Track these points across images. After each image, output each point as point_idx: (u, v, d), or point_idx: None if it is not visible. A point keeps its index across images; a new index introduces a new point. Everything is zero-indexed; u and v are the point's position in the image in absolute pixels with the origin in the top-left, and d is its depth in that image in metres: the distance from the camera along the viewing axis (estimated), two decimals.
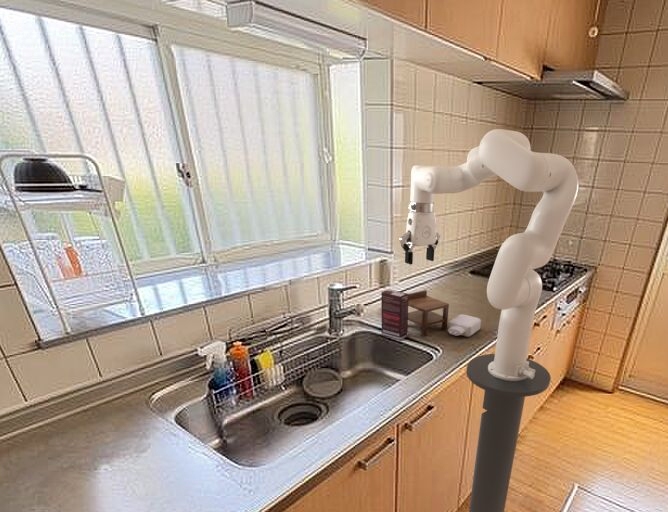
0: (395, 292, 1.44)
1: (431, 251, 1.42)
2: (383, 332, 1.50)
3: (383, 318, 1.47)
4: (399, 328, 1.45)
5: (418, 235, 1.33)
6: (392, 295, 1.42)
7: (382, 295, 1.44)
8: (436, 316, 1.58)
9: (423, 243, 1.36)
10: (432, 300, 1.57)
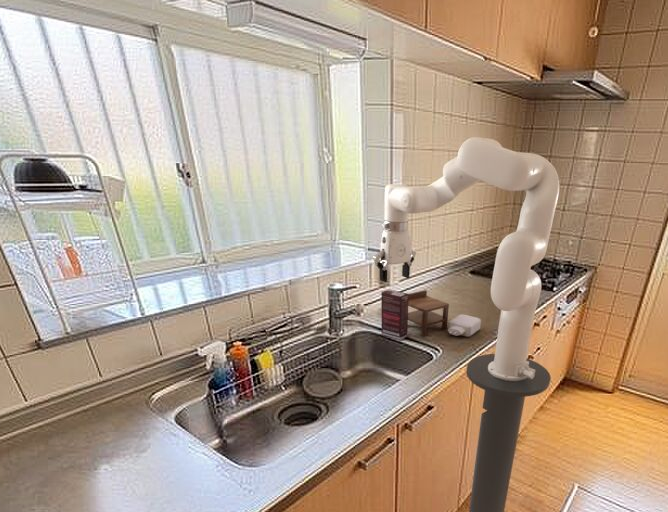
0: (395, 292, 1.44)
1: (406, 268, 1.42)
2: (383, 332, 1.50)
3: (383, 318, 1.47)
4: (399, 328, 1.45)
5: (392, 253, 1.33)
6: (392, 295, 1.42)
7: (382, 295, 1.44)
8: (436, 316, 1.58)
9: (397, 261, 1.36)
10: (432, 300, 1.57)
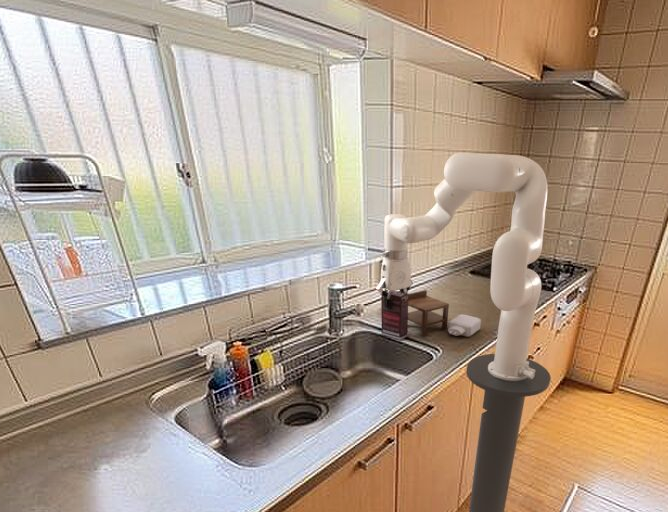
0: (395, 292, 1.44)
1: None
2: (383, 332, 1.50)
3: (383, 318, 1.47)
4: (398, 328, 1.45)
5: (392, 280, 1.37)
6: (392, 295, 1.42)
7: None
8: (436, 316, 1.58)
9: (397, 288, 1.40)
10: (432, 300, 1.57)
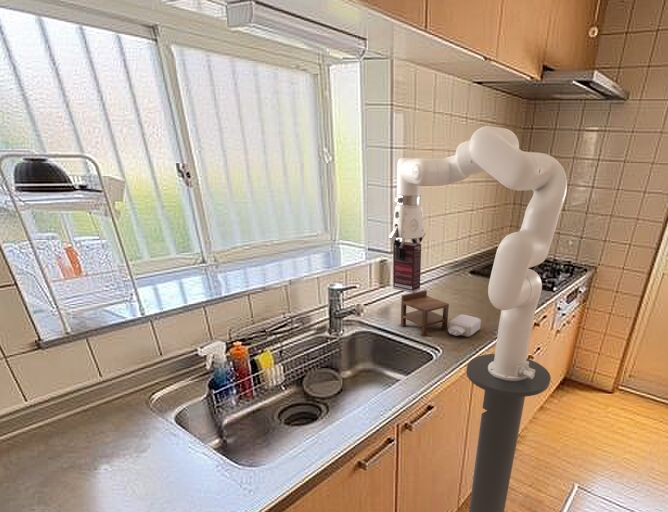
0: (407, 242, 1.39)
1: None
2: (395, 286, 1.45)
3: (395, 271, 1.43)
4: (411, 281, 1.41)
5: (405, 228, 1.33)
6: (404, 245, 1.37)
7: (394, 246, 1.39)
8: (436, 316, 1.58)
9: (410, 236, 1.35)
10: (432, 300, 1.57)
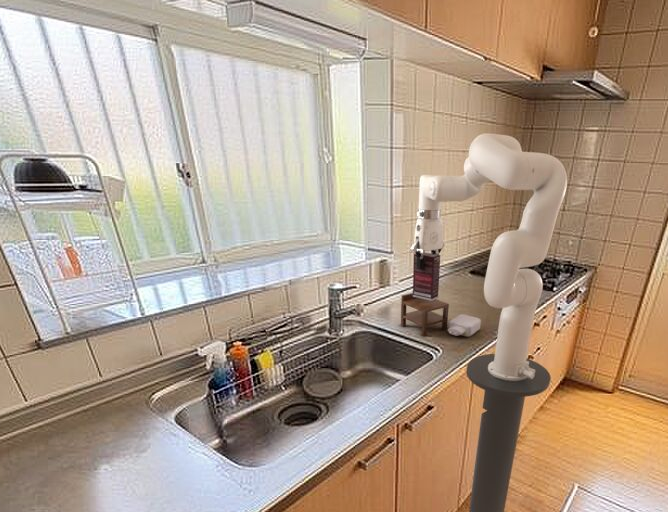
0: (427, 253, 1.47)
1: None
2: (414, 294, 1.53)
3: (415, 280, 1.51)
4: (430, 289, 1.49)
5: (425, 240, 1.40)
6: (425, 256, 1.45)
7: (414, 256, 1.47)
8: (436, 316, 1.58)
9: (430, 248, 1.43)
10: None
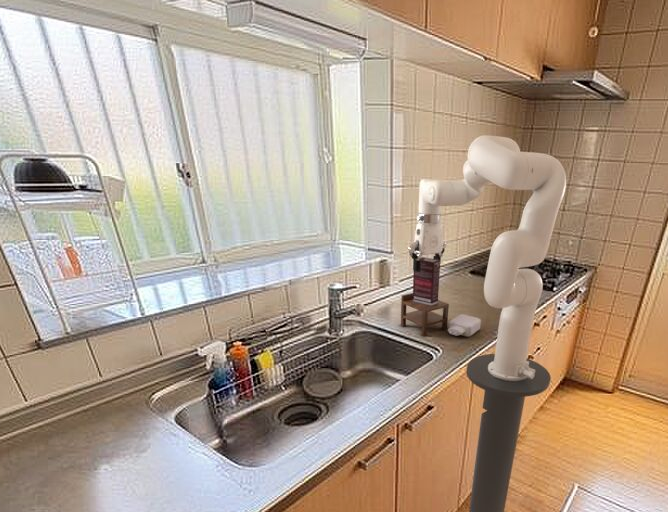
0: (427, 258, 1.48)
1: (438, 259, 1.50)
2: (414, 299, 1.54)
3: (415, 285, 1.51)
4: (430, 294, 1.49)
5: (425, 244, 1.41)
6: (425, 261, 1.46)
7: None
8: (436, 316, 1.58)
9: (430, 252, 1.44)
10: None
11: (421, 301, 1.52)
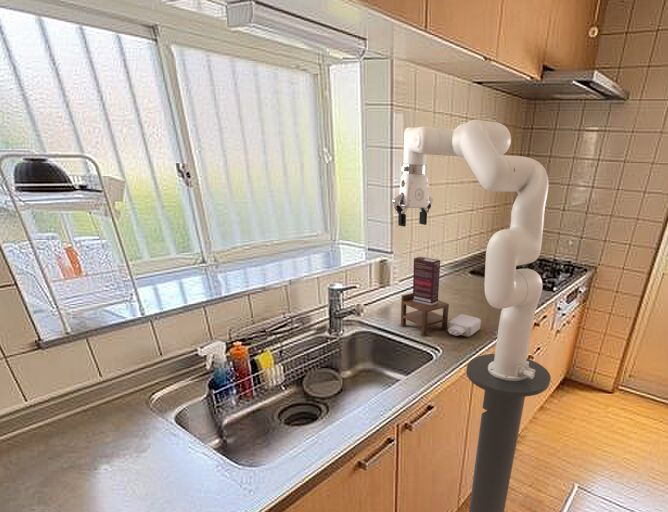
0: (427, 258, 1.48)
1: (424, 215, 1.46)
2: (414, 299, 1.54)
3: (415, 285, 1.51)
4: (430, 294, 1.49)
5: (410, 196, 1.37)
6: (425, 261, 1.46)
7: (414, 261, 1.48)
8: (436, 316, 1.58)
9: (416, 205, 1.40)
10: None
11: (421, 301, 1.52)
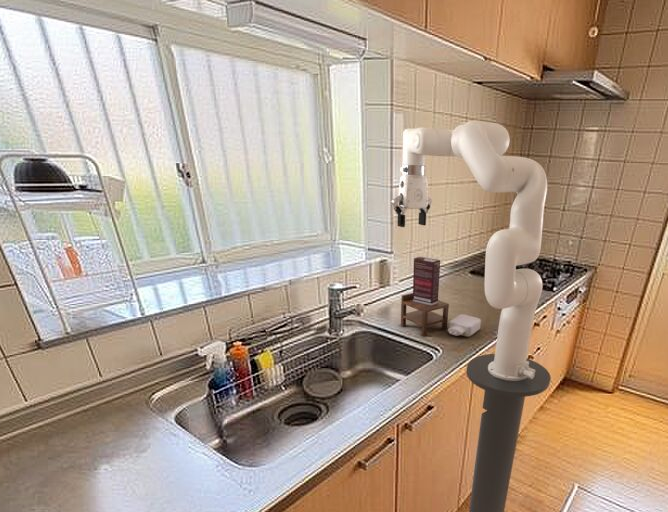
0: (427, 258, 1.48)
1: (423, 215, 1.46)
2: (414, 299, 1.54)
3: (415, 285, 1.51)
4: (430, 294, 1.49)
5: (409, 197, 1.37)
6: (425, 261, 1.46)
7: (414, 261, 1.48)
8: (436, 316, 1.58)
9: (415, 206, 1.40)
10: None
11: (421, 301, 1.52)
